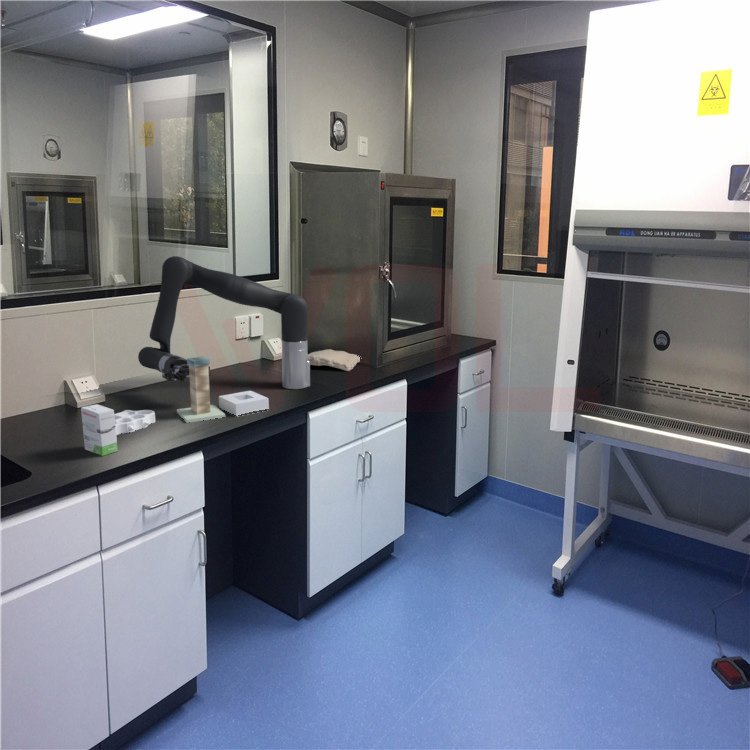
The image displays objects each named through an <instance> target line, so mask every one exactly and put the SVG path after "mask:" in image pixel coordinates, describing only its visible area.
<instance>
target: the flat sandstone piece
mask: <svg viewBox="0 0 750 750" xmlns="http://www.w3.org/2000/svg"><path fill="white" fill-rule="evenodd" d="M357 355H358V354H354V353H349V352H346V351H345V350H333V349H331V348H329V349H323V350H316V351H313V352H312V351H311V352H310V353H308V360H309V361H310V366H318V367H320V366H329V367H332V368H336V369H339V370H343V371H345V372H350V371H351V370H353V369H354V367H355V366H356V365H358V363H360V362H361V361H360V357H361V356H360V355H358V356H357ZM359 356H360V357H359Z"/></svg>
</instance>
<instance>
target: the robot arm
mask: <svg viewBox="0 0 750 750" xmlns="http://www.w3.org/2000/svg"><path fill="white" fill-rule="evenodd" d="M160 284H161V285H160V291H159V297H158V302H157V303H156V305H157V306H156V309H155V312H154V316H153V319H152V323H151V327H150V332H149V338H150V340H152V341H154V342H156V343H159V348H158V347H153V346H145V347H143V348H142V349H140V350H139V351H138V356H137V358H138V362H139V364H140V365H141V366H143V367H144V368H147V369H151V370H156V371H158V372H160V373H161V377H162V379H163V378H164V379H165V380H166V381H169V382H171V381H172V380H174V381H178V382H180V383H181V382H182V383H183V382H185V380H186V379H187V378H189V364H187V358H184V357H181V356H179V355H177V354H173V353H171V339H172V333H173V330H174V326H175V321H176V313H177V309H178V308H177V307H178V301H179V298H180V297H179V296H180V293H181V291H182V289H183V285H186V286H190V287H195V288H198V289H202V290H204V291H206V292H208V293H210V294H213V295H214V296H216V297H218V298H221V299H224V300H226V301H229V302H232V303H235V304H239V305H242V306H243V305H244V306H249V307H255V308H256V307H257V308H263V309H265V310H266V309H267V310H270V311H273V312H274V313H278V314H280V320H281V364H282V365H281V367H282V368H281V369H282V370H281V372H282V374H281V375H282V377H281V378H282V379H281V381H282V387H283V388H285V389H290V390H300V389H304V388H305V389H306V388H308V387H311V365H310V361H309V360H308V354H309V353H308V348H309V347H308V335H309V334H308V333H309V332H308V330H309V327H308V322H309V321H308V319H309V318H308V317H309V314H308V312H309V311H308V304H307V302H306V300H305V299H304V297H302V296H301V295H299V294H295V293H290V292H284V291H280V290H276V289H273V288H270V287H268V286H266V285H263V284H262V283H258V282H256V281H253V280H250V279H249V278H245V277H242V276H241V275H240V276H239V275H236V274H233V273H229V272H225V271H220V270H216V269H209V268H208V267H204V266H201V265H198V264H197V263H194V262H192V261H190V260H188V259H186V258H184V257H183V256H182V257H181V256H170V257H168V258H166V259H165V260H164V261H163V264H162V267H161V282H160ZM208 369H209V379H210V378H211V370H210V369H211V367H210V365H208Z"/></svg>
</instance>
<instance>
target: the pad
mask: <svg viewBox="0 0 750 750" xmlns="http://www.w3.org/2000/svg"><path fill="white" fill-rule="evenodd" d="M176 413H177V414H178V415H179V416H180V417H181V419H182V418H183V419H184V420H183V421H184V422H185V423H186V424H190V423H196V422H202V421H203V420H204V421H209V420H210V419H211V420H216V419H215V418H218V419H223V418H222V417H225V418H226V413H225V412H223V411H222V409H220V408H219V407H218V406H216V405H215V404H210V413H205V414H199V415H197V414H195V413H193V412H191V407H185V408H178V409H176ZM211 420H210V421H211ZM189 422H190V423H189Z"/></svg>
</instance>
